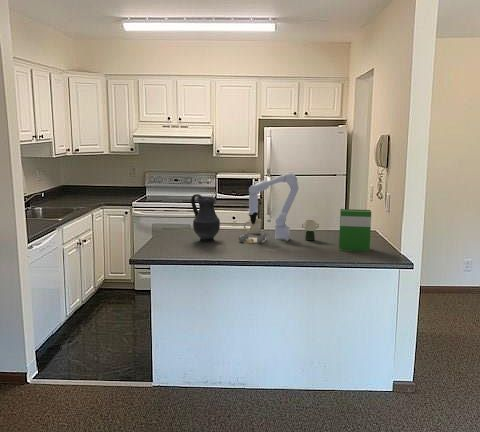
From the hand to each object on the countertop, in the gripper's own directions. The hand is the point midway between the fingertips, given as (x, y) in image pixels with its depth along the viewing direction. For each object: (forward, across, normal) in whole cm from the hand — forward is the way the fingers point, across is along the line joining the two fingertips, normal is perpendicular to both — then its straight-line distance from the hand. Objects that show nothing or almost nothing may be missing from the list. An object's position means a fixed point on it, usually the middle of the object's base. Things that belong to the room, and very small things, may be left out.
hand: (253, 223), depth 330 cm
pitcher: (+10, +15, -29) cm, 34 cm away
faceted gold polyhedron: (+9, +16, +2) cm, 19 cm away
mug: (+10, -14, -4) cm, 18 cm away
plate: (+10, +10, +2) cm, 14 cm away
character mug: (+10, -5, +37) cm, 39 cm away
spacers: (+10, +10, +2) cm, 14 cm away
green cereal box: (+10, +13, +66) cm, 68 cm away
